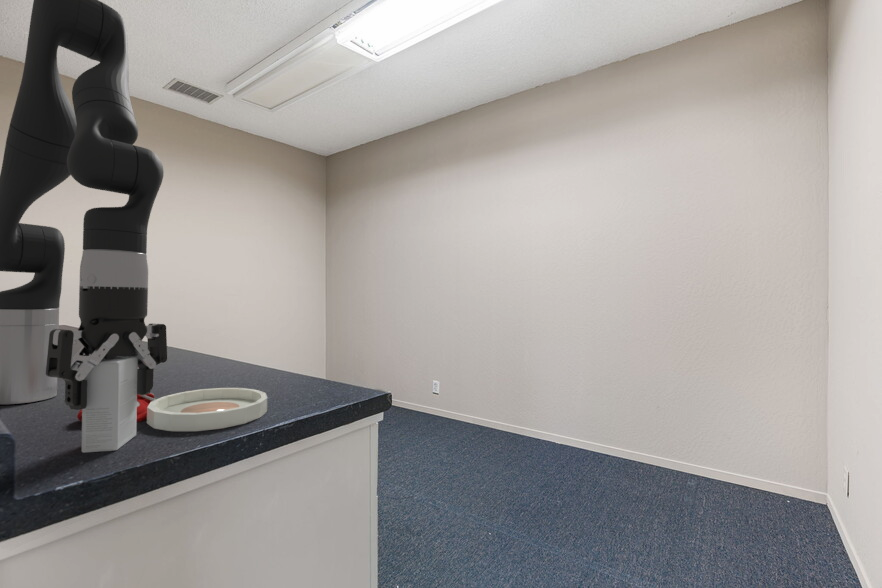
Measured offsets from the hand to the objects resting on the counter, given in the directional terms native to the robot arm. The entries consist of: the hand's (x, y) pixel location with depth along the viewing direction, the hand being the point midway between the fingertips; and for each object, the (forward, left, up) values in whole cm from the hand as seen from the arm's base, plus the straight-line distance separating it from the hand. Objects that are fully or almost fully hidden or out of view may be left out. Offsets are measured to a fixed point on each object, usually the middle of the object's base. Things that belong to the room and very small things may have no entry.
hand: (112, 401), depth 58 cm
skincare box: (0, 0, -6) cm, 6 cm away
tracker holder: (-11, +10, -7) cm, 16 cm away
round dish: (+1, +16, -6) cm, 17 cm away
